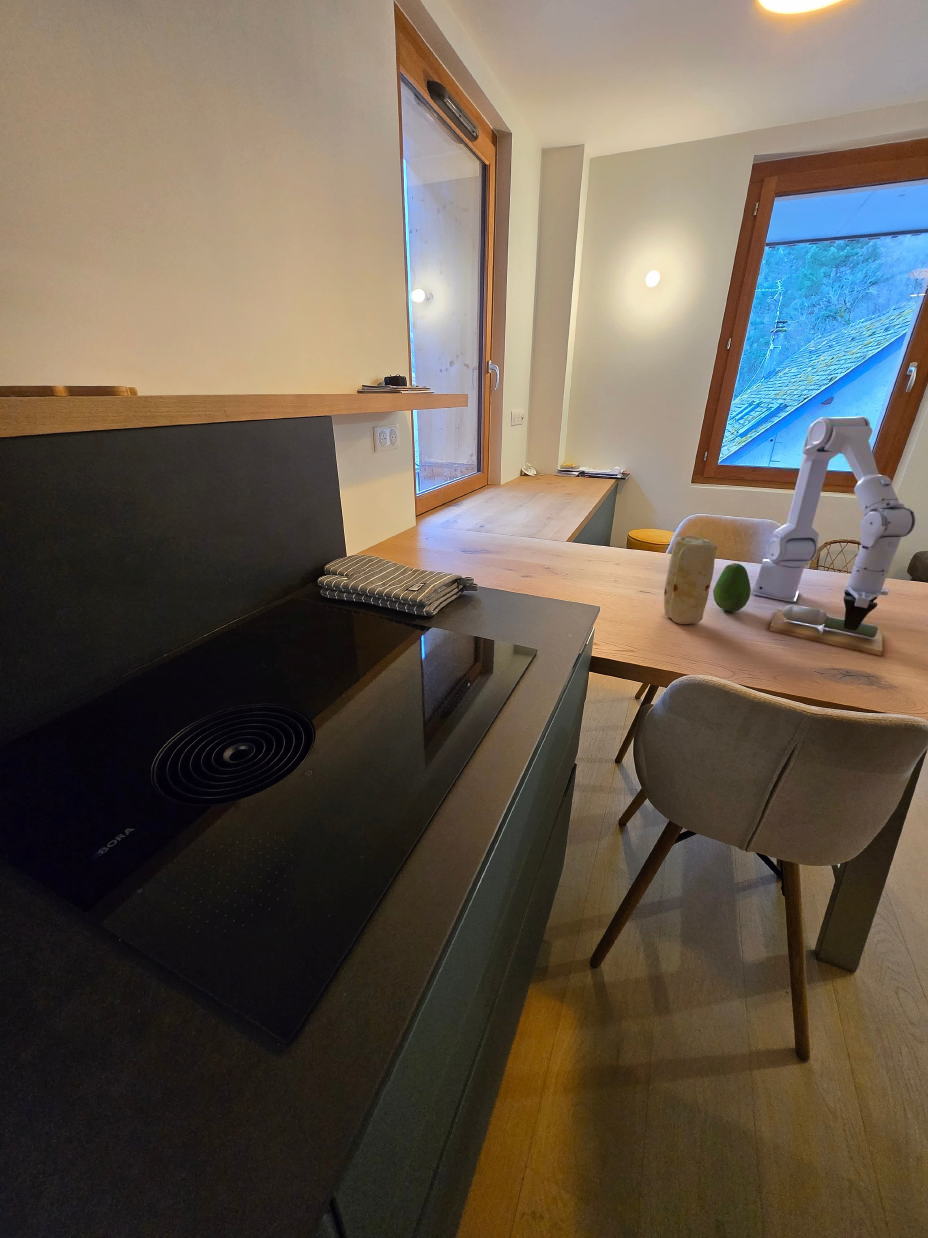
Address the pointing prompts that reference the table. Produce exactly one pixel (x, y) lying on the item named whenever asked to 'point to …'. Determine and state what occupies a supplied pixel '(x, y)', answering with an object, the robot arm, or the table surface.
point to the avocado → (732, 588)
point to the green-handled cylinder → (824, 620)
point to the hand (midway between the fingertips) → (849, 626)
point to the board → (827, 635)
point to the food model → (689, 579)
